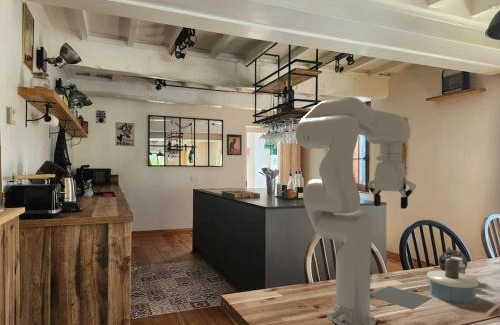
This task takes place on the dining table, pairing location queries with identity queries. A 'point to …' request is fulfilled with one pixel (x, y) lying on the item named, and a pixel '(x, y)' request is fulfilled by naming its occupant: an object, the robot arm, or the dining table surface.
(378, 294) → the mat
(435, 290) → the bowl
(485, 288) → the dining table surface
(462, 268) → the supplement bottle
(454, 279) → the lid
